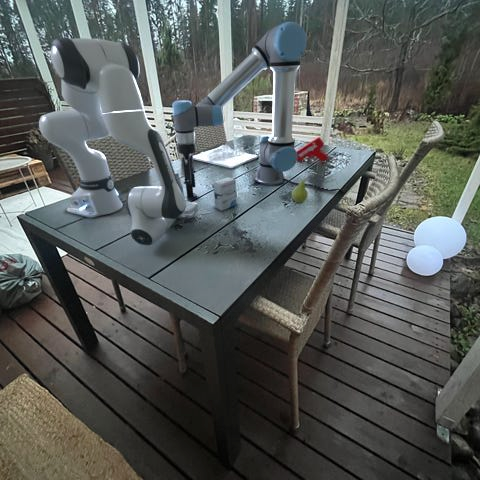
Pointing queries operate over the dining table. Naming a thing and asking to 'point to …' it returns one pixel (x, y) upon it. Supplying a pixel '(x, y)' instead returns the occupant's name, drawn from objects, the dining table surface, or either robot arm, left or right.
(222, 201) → the ink box
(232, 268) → the dining table surface
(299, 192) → the fruit
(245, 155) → the relief map
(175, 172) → the bottle
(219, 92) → the right robot arm
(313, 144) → the toy gun
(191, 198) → the cap
